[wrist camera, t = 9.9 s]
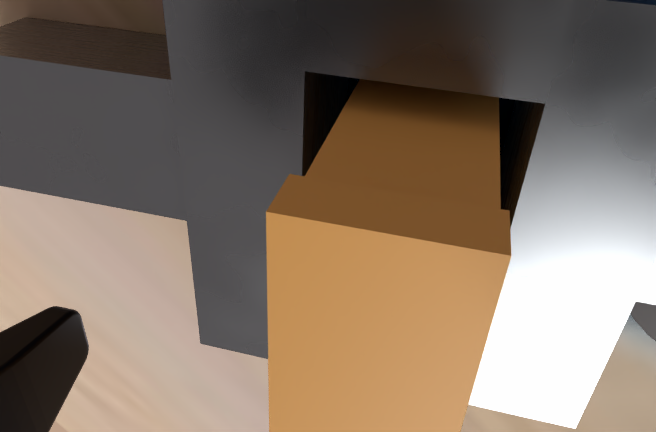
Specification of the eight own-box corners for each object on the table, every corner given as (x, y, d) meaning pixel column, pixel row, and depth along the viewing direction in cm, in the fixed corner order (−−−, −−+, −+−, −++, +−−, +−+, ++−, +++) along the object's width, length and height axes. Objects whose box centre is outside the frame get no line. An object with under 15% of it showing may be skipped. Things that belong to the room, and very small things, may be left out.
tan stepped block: (502, 38, 14) (511, 255, 7) (458, 236, 17) (432, 525, 10) (381, 23, 14) (265, 211, 7) (362, 218, 18) (270, 482, 10)
